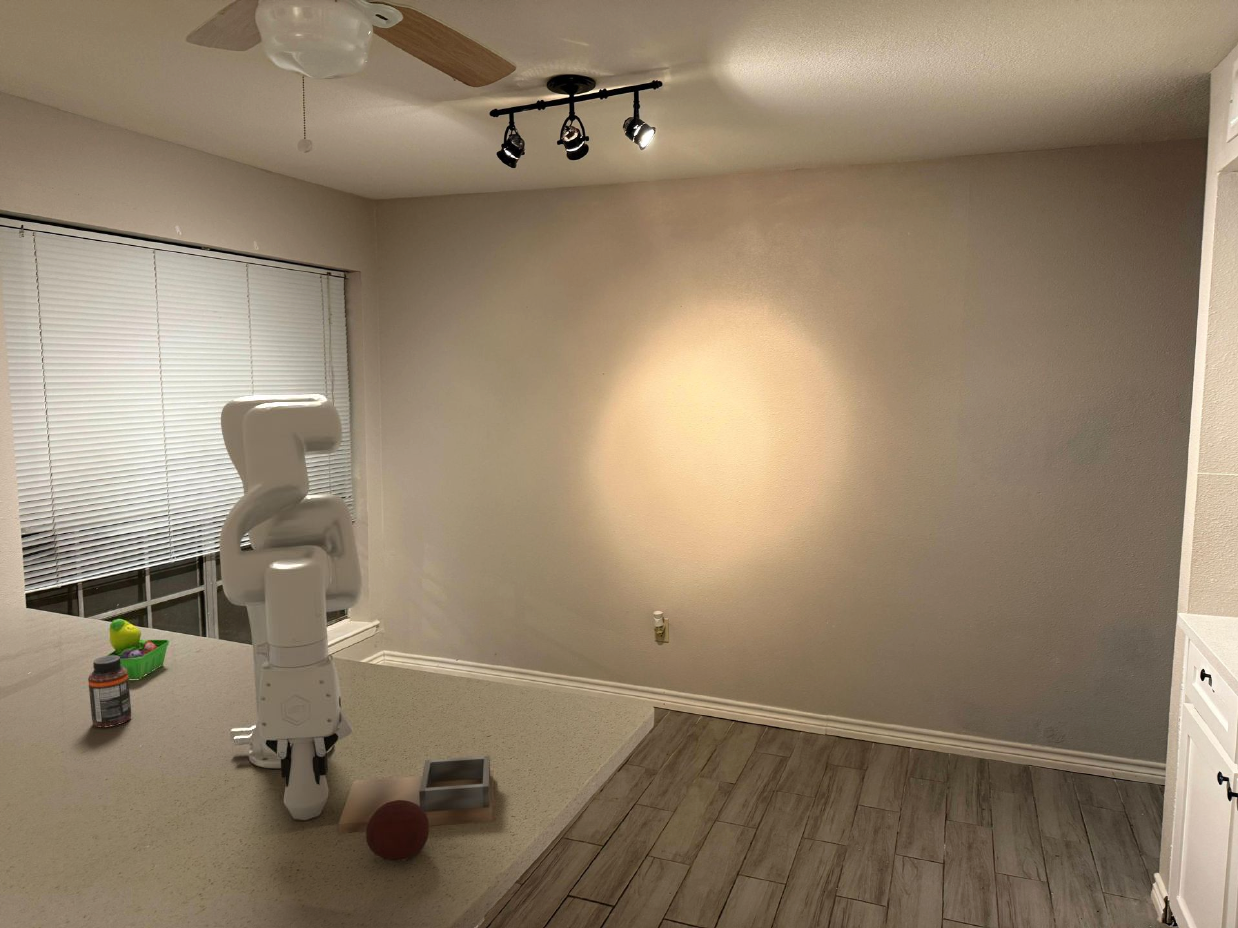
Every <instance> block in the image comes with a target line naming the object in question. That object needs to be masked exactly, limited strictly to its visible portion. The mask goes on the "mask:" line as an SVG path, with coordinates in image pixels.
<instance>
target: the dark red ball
mask: <svg viewBox="0 0 1238 928" xmlns="http://www.w3.org/2000/svg"><path fill="white" fill-rule="evenodd" d="M429 834H430V826H429V821H428V818H427V815H426V813H425V811H424V810H423V809H422V808H421V807H420V806H419V805H417V804H415V803H413V802H410V801H406V800H396V801H392V802H388V803H386V804H384V805H383V806H381V807H380V808H378V809H377V811H376V812H375V813H374V815H373V816H372V817H371V818H370V820H369V822H368V825H367V828H366V831H365V842H366V845H367V847H368V848H369V849H370V851H371V852H372V853H373V854H374V855H375V856H377V857H378V858H381V859H383V860H385V861H391V862H397V861H398V862H399V861H404V860H405V861H406V860H409V859H411V858H413V857H415V856H417V855H418V854H419V853H421V852H422V851H423V849H424V848H425V847H426V844H427V842H428V839H429Z"/></svg>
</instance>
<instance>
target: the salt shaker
mask: <svg viewBox="0 0 1238 928" xmlns="http://www.w3.org/2000/svg"><path fill="white" fill-rule="evenodd" d="M288 741H289V742H290V743H292V744H291V755H290V757H291V769H290V776H289V785H288V787H286V786H285V787H284V789H285V790H284V795H283V796H284V797H283V800H282V801H283V804H284V806H285V807H286V809H287V810H288V811H289V813H290V815H291V817H292V819H293V820H301V821H307V820H309V819H313V818H316V817H319V816H320V815H321V813H322V811H323V809H324V807H325V805H326V802H327V801H328V798H329V791H330V789H329V785H328V782H327V778H326V775H322V776H321V775H320V785H318V784H317V783H316V780H315V774H314V771H313V757H315V750H316V747H315V741H314V738H307V739H290V740H288Z"/></svg>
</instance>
